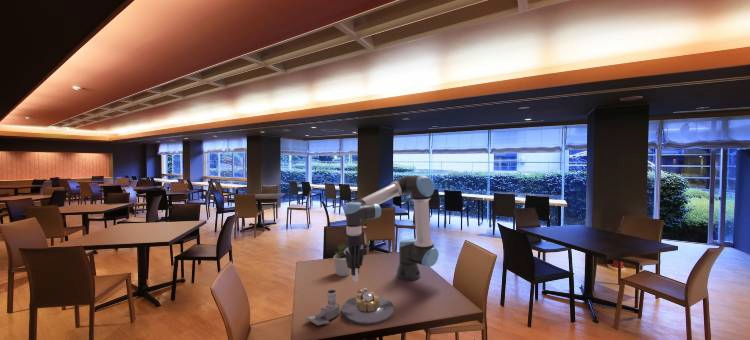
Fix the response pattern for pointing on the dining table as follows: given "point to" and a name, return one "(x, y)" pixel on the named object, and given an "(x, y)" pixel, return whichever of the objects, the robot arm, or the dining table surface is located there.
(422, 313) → the dining table surface
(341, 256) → the potted plant
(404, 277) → the robot arm
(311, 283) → the dining table surface
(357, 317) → the cap plate
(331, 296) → the camera
